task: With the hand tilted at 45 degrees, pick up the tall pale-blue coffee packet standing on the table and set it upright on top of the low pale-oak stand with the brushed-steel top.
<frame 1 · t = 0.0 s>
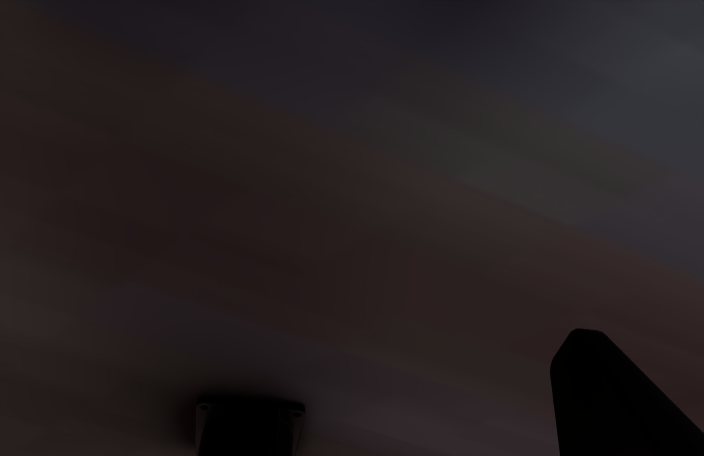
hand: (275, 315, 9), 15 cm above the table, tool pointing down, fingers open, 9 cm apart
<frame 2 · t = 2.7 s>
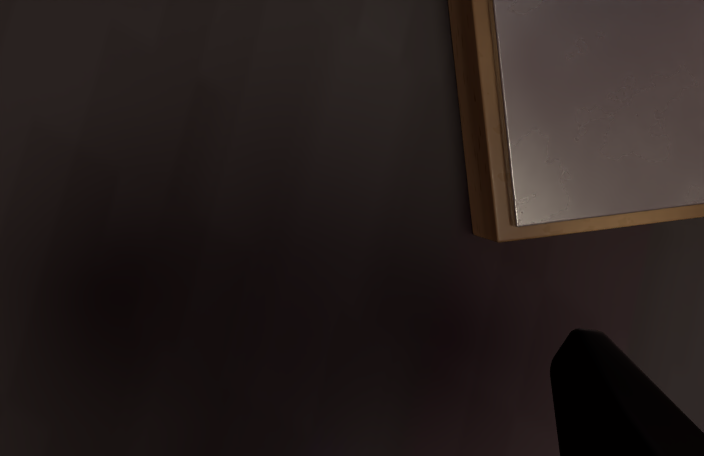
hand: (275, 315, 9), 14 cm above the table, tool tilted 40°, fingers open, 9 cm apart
stand: (655, 4, 23), on the table
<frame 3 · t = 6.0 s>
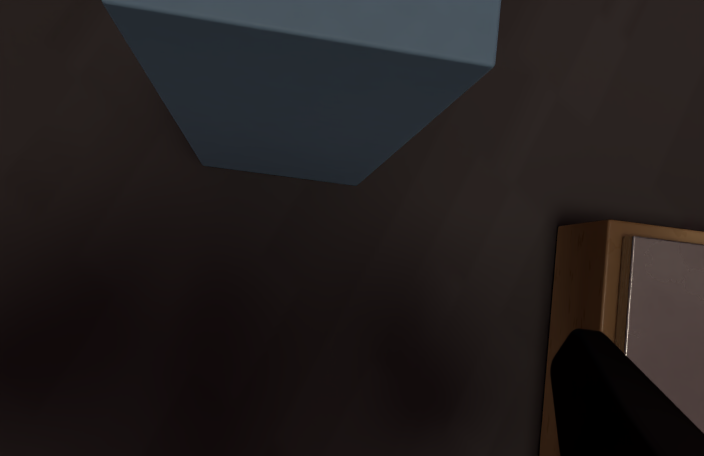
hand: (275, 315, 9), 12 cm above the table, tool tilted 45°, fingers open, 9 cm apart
packet: (289, 107, 21), on the table
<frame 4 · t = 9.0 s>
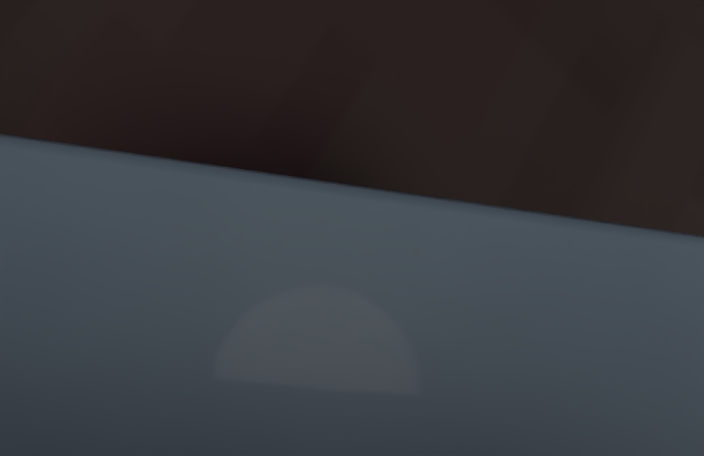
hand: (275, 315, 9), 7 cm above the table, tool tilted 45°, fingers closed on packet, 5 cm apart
packet: (268, 351, 15), on the table, touching gripper
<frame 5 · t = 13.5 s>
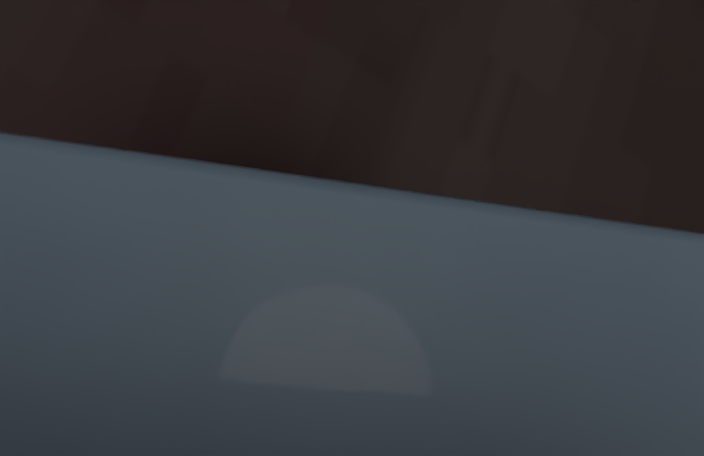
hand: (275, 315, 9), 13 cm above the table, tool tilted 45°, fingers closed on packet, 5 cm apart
packet: (268, 350, 15), point 7 cm above the table, touching gripper
when the fingers open (11 cm above the table, at t = 18.2 s): packet stays where it is, resting on stand.
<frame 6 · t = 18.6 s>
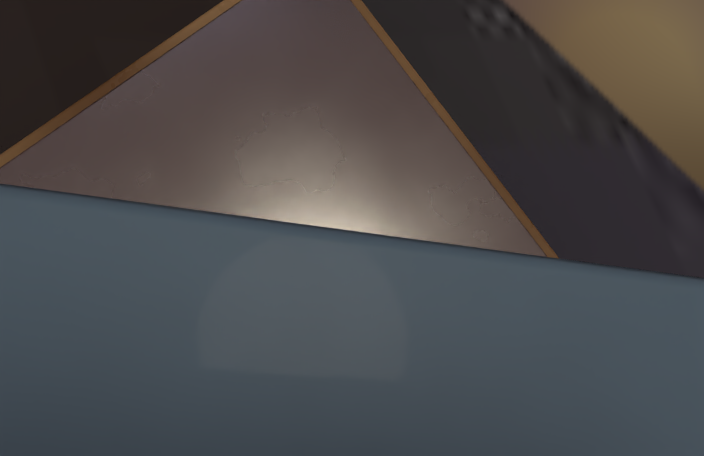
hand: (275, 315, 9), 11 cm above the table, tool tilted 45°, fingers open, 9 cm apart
stand: (264, 326, 19), on the table
packet: (267, 354, 15), point 4 cm above the table, touching stand
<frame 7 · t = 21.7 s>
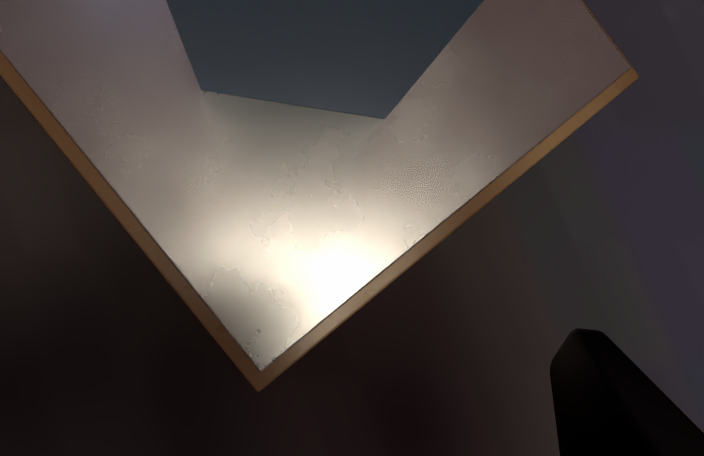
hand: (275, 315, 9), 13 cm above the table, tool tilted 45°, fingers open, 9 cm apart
stand: (296, 58, 22), on the table
packet: (305, 22, 18), point 4 cm above the table, touching stand
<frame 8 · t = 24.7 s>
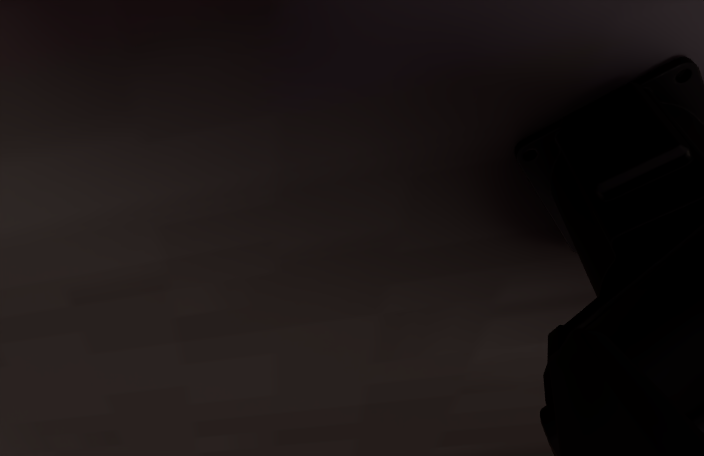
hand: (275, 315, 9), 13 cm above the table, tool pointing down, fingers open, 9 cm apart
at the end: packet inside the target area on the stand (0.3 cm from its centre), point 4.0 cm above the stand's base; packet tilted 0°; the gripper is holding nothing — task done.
